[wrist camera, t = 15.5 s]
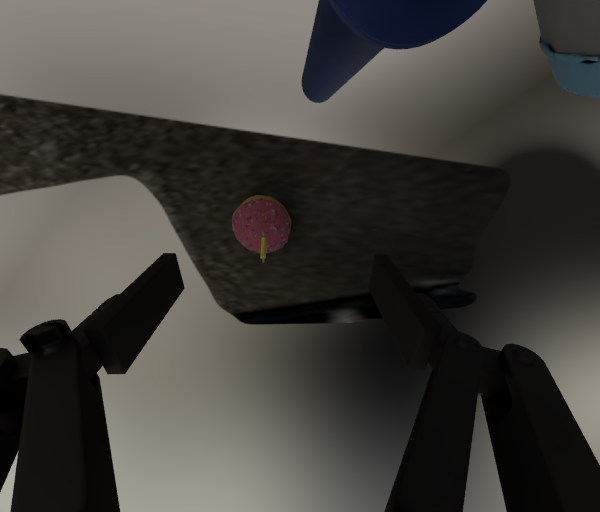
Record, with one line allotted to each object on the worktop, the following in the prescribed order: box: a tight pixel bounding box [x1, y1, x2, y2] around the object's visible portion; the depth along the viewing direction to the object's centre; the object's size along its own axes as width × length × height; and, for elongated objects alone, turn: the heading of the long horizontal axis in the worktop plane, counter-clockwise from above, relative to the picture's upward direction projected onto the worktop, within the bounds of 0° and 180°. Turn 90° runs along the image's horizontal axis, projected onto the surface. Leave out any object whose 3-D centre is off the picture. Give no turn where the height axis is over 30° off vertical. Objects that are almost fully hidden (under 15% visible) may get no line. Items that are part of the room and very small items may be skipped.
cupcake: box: [232, 195, 291, 262], centre depth 33 cm, size 9×8×12 cm
